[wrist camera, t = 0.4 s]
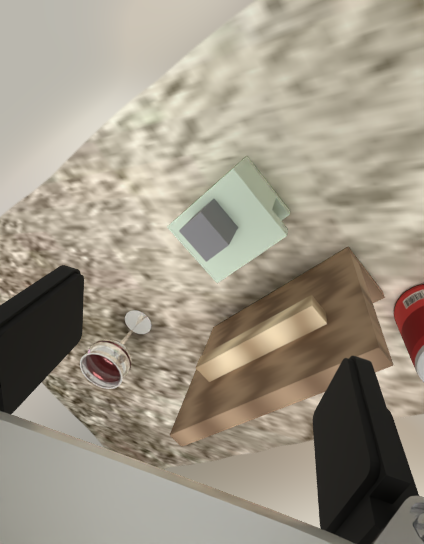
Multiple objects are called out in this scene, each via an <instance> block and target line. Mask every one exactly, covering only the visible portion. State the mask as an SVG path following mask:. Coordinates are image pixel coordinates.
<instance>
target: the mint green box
mask: <svg viewBox="0 0 424 544" xmlns="http://www.w3.org/2000/svg"><path fill="white" fill-rule="evenodd" d="M289 215H290V210H289V209H288V208H287V206H286V205H285V204H284V203H283V201H282V200H281V199H280V197H279V196H278V195H277V194H276V192H275V191H274V190H273V189H272V187H271V186H270V185H269V183H268V182H267V181H266V180H265V178H264V177H263V176H262V175H261V173H260V172H259V171H258V169H257V168H256V167H255V166H254V164H253V163H252V162H251V160H250V159H249V158H248V157H247V156H246V157H245V158H244V159H243V160H242V161H241V162H239V163H238V164H237V165H236V166H235V167H234V168H233V169H232V170H230V171H229V172H228V173H227V174H226V175H225V176H224V177H222V178H221V179H220V180H219V181H218V182H217V183H216V184H215V185H213V186H212V187H211V188H210V189H209V190H208V191H207V192H206V193H204V194H203V195H202V196H201V197H200V198H199V199H198V200H196V201H195V202H194V203H193V204H192V205H191V206H190V207H189V208H187V209H186V210H185V211H184V212H183V213H182V214H181V215H180V216H179V217H177V218H176V219H175V220H174V221H173V222H172V223H171V224H170V225H169V226H167V228H168V229H169V230H170V231H171V232H172V233H173V234H174V236H175V237H176V238H177V239H178V240H179V241H180V242H181V243H182V245H183V246H184V247H185V248H186V249H187V250H188V251H189V252H190V254H191V255H192V256H193V257H194V258H195V259H196V260H197V261H198V263H199V264H200V265H201V266H202V267H203V268H204V269H205V270H206V272H207V273H208V274H209V275H210V276H211V277H212V278H213V279H214V281H215V282H216V283H219V282H220V281H222V280H223V279H225V278H226V277H228V276H229V275H230V274H232V273H233V272H235V271H236V270H238V269H239V268H241V267H242V266H244V265H245V264H247V263H248V262H249V261H251V260H252V259H254V258H255V257H257V256H258V255H260V254H261V253H263V252H264V251H266V250H267V249H269V248H270V247H271V246H273V245H274V244H276V243H277V242H279V241H280V240H282V239H283V238H285V237H286V236H287V232H288V229H287V228H286V226H285V225H284V224H283V223H282V220H283V219H284V218H286V217H287V216H289Z"/></svg>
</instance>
